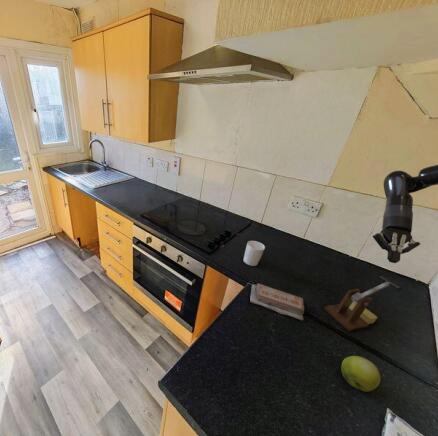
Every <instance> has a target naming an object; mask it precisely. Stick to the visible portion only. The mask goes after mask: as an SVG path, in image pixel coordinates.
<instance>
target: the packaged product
mask: <svg viewBox="0 0 438 436" xmlns="http://www.w3.org/2000/svg"><path fill="white" fill-rule="evenodd" d="M249 299H250V302H249V303H252V304H255V305H257V306H262V307H264V308H266V309H268V310H271V311H274V312H276V313H278V314H280V315H285V316H289V317H291V318H294V319H296V320H299V321H304V317H303V316H304V313H305V305H304V298H303V297H300V296H298V295H294V294H292V293H288V292H286V291H282V290H280V289H276V288H274V287H270V286H267V285H264V284H262V283H256V284H254V283H252V285H251V289H250V298H249Z"/></svg>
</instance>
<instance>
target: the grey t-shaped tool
mask: <svg viewBox="0 0 438 436" xmlns="http://www.w3.org/2000/svg"><path fill="white" fill-rule="evenodd" d="M378 279H379V280H380V281H382V283H381V284H379V285H377V286H375V287H372V288H370V289H368V290H366V291H364V292H362V293H361V292H358V293H356V294H354V295H352V296H351V300H352V301H353V302H355V303H356V304H357V302H358V301H359V299H361V298H366V297H370V295H373V294H375V293H377V292H380V291H381V290H384V289H385V288H387V287H389V286H391V287H392V288H393V289H395V290H397V291H400V290H402V289H403V286H401V285H399V284H398V283H396V282H395V281H393V280H391V279H389V278H388V277H387V276H385V275H383V274H381V275H380V276H378Z"/></svg>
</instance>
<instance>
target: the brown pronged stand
mask: <svg viewBox="0 0 438 436" xmlns="http://www.w3.org/2000/svg"><path fill="white" fill-rule="evenodd" d="M358 292H359V293H361V290H360V289H359V288H354V289H353V288H352V289H348V290H347V292H346V293H345V295H344V296H343V298H342V300H340V303H337V304H331V305H326V306H324V307H323V310H324V311H325V312H327V314H329V315H330V316H331V317H332V318H333V319H334V320H335V321H336V322H337V323H339V325H341V326H342V327H344V328H345V330H347V332H353V331H356V330H362V329H366V328H369V326H370V324H368V323H366V322H365V321H364V320H363V319H361V318H360V316H361V314H362V313H363V312H364V310H365V309H367V307H368V306H369V305H370V303H371V302H372V300H373V298H372V297H370V296H367V297H365V298H361V299H359V301H358V302H357V304H356V305H355V307H354V308H353V310H352V311H351V310H350V309H349V307H350V305H351V304H352V302H353V301H352V300H351V296H352V295H354V294H356V293H358Z"/></svg>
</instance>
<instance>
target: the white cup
mask: <svg viewBox="0 0 438 436" xmlns="http://www.w3.org/2000/svg"><path fill="white" fill-rule="evenodd" d="M265 249H266V246H265V245H264V244H263V243H261V242H259V241H257V240H249V241H247V242H246V247H245V250H244V255H243V263H245V264H246V265H248V266H251V267H256V266H258V265H259V262H260V261H261V259H262V256H263V254H264V252H265Z"/></svg>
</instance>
